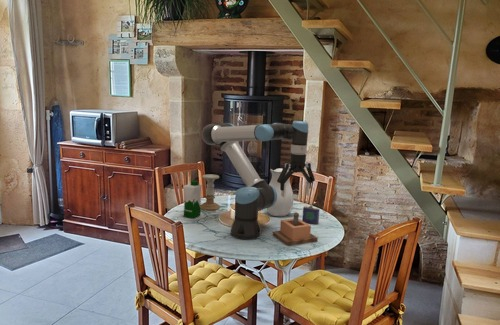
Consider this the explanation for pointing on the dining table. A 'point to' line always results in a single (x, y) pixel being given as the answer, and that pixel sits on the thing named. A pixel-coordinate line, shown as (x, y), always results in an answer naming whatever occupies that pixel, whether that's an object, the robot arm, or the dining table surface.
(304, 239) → the hook peg board
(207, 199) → the candle holder
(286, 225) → the orange square ring
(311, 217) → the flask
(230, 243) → the dining table surface
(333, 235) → the dining table surface
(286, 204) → the pitcher
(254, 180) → the robot arm
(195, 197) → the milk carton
